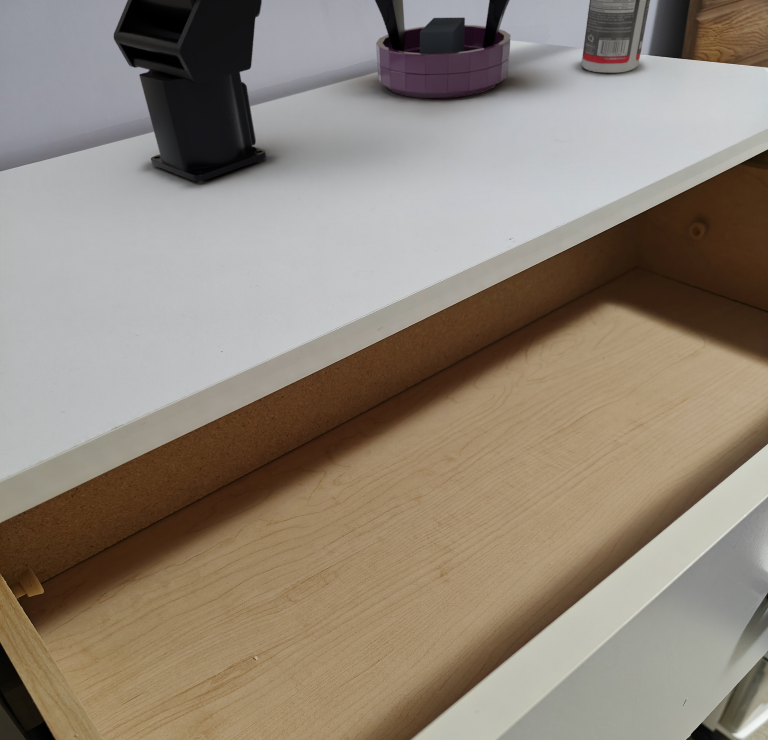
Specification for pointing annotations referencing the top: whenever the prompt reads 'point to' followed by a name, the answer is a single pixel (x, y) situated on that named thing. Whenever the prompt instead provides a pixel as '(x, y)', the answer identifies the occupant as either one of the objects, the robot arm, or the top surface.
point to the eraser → (443, 36)
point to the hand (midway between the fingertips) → (442, 65)
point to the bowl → (443, 65)
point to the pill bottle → (614, 35)
